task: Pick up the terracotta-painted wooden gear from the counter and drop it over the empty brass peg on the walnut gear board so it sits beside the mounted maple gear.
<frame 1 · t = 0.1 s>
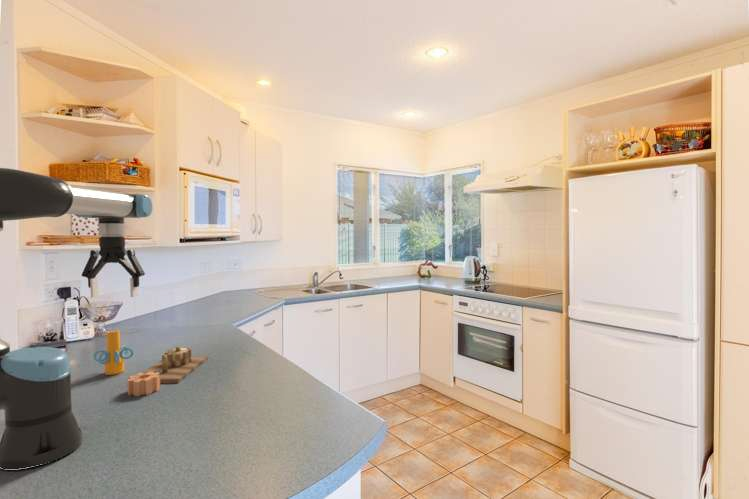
hand: (114, 296, 138), 28 cm above the worktop, fingers open, 13 cm apart
gear board: (172, 370, 144), on the worktop
orange post with rings: (114, 372, 143), on the worktop
gear: (144, 390, 126), on the worktop
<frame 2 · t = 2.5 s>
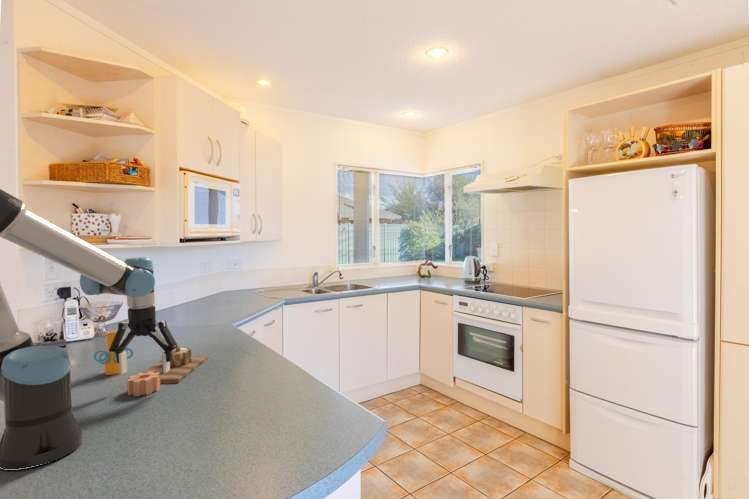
hand: (145, 372, 126), 6 cm above the worktop, fingers open, 13 cm apart
nothing on the worktop moved.
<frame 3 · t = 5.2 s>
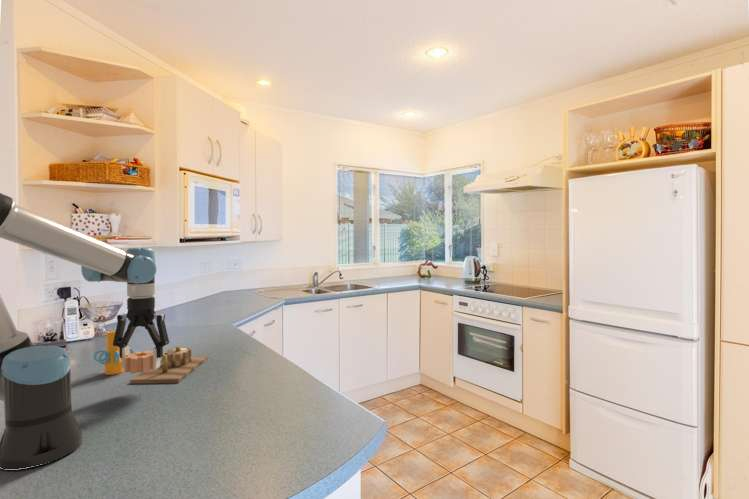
hand: (141, 367, 125), 8 cm above the worktop, fingers closed on gear, 9 cm apart
gear: (141, 368, 125), point 7 cm above the worktop, touching gripper
everything else where it was.
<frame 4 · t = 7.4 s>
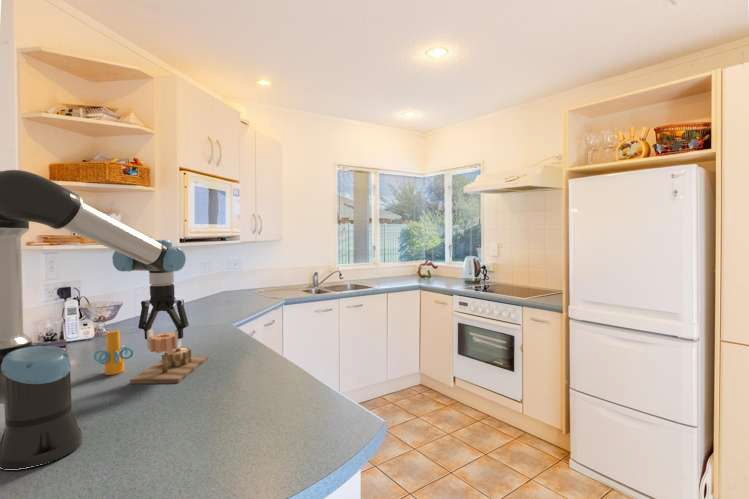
hand: (164, 348, 139), 10 cm above the worktop, fingers closed on gear, 9 cm apart
gear: (164, 348, 139), point 10 cm above the worktop, touching gripper
everything else where it was.
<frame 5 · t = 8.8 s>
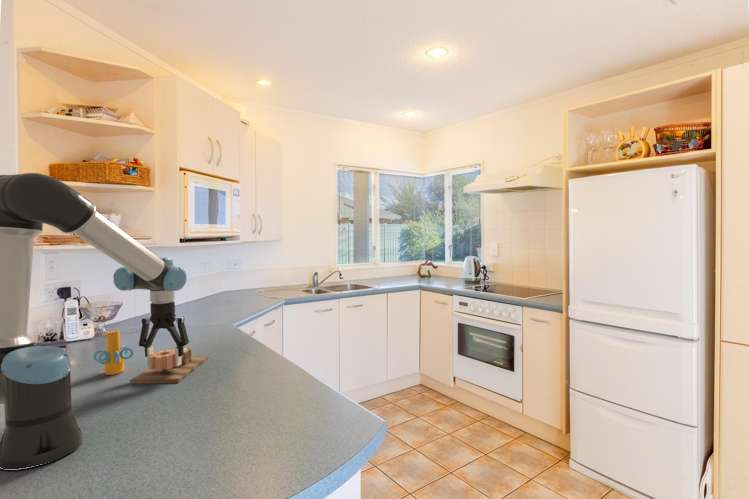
hand: (164, 365, 139), 4 cm above the worktop, fingers closed on gear, 9 cm apart
gear: (164, 366, 139), point 3 cm above the worktop, touching gripper
everything else where it was.
when the fingers open (3 cm above the worktop, at t = 9.7 s): gear drops 2 cm, resting on gear board.
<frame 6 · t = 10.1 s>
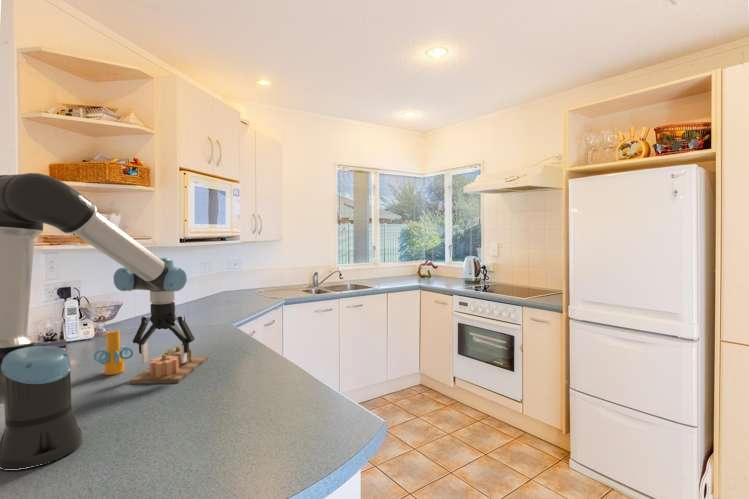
hand: (164, 362, 139), 5 cm above the worktop, fingers open, 13 cm apart
gear: (164, 372, 139), point 1 cm above the worktop, touching gear board
everything else where it was.
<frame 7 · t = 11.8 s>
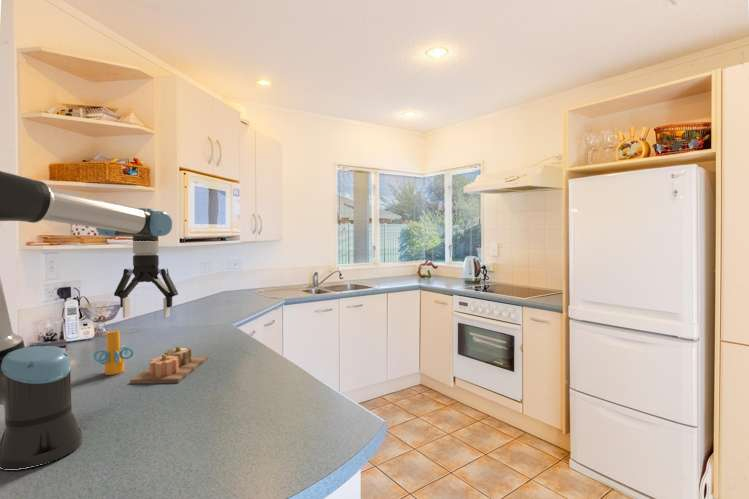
hand: (146, 317, 134), 22 cm above the worktop, fingers open, 13 cm apart
nothing on the worktop moved.
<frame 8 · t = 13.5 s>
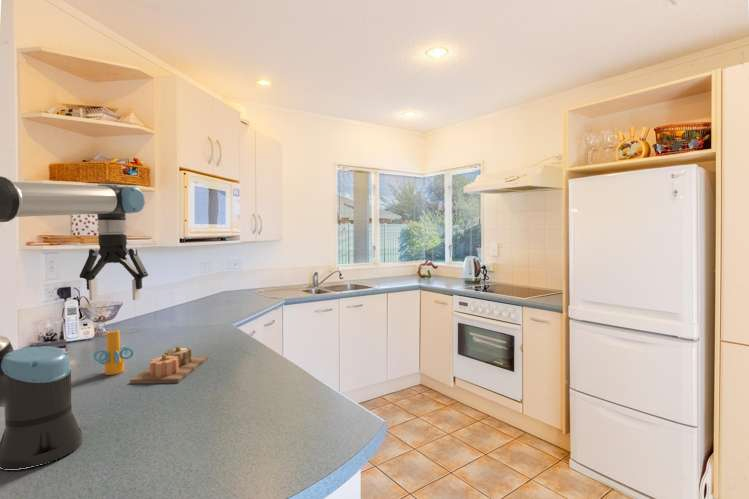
hand: (115, 299, 127), 29 cm above the worktop, fingers open, 13 cm apart
nothing on the worktop moved.
at the end: gear 0.1 cm from the target spot on the gear board, point 1.2 cm above the gear board's base; gear tilted 0°; the gripper is holding nothing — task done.
